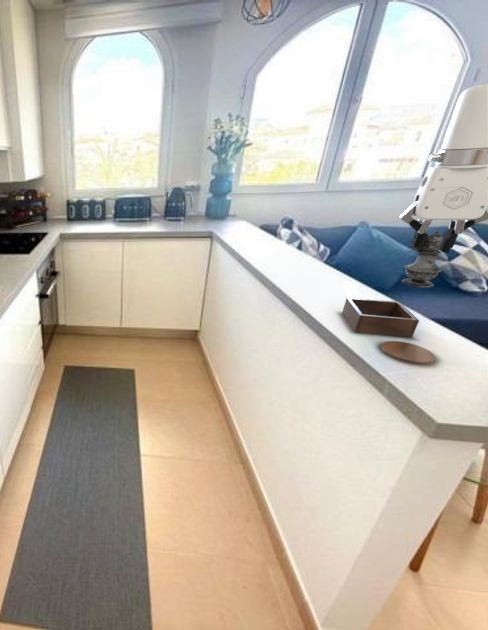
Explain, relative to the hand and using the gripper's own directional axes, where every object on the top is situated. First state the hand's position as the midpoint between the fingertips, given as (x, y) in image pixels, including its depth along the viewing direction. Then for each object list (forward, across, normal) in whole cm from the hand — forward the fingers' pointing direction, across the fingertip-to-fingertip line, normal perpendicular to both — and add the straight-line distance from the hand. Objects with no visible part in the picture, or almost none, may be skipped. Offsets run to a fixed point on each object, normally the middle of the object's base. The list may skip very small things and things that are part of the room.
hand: (429, 250), depth 74 cm
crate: (+23, -2, +8) cm, 24 cm away
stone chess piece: (+8, 0, 0) cm, 8 cm away
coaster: (+23, 0, -6) cm, 24 cm away
